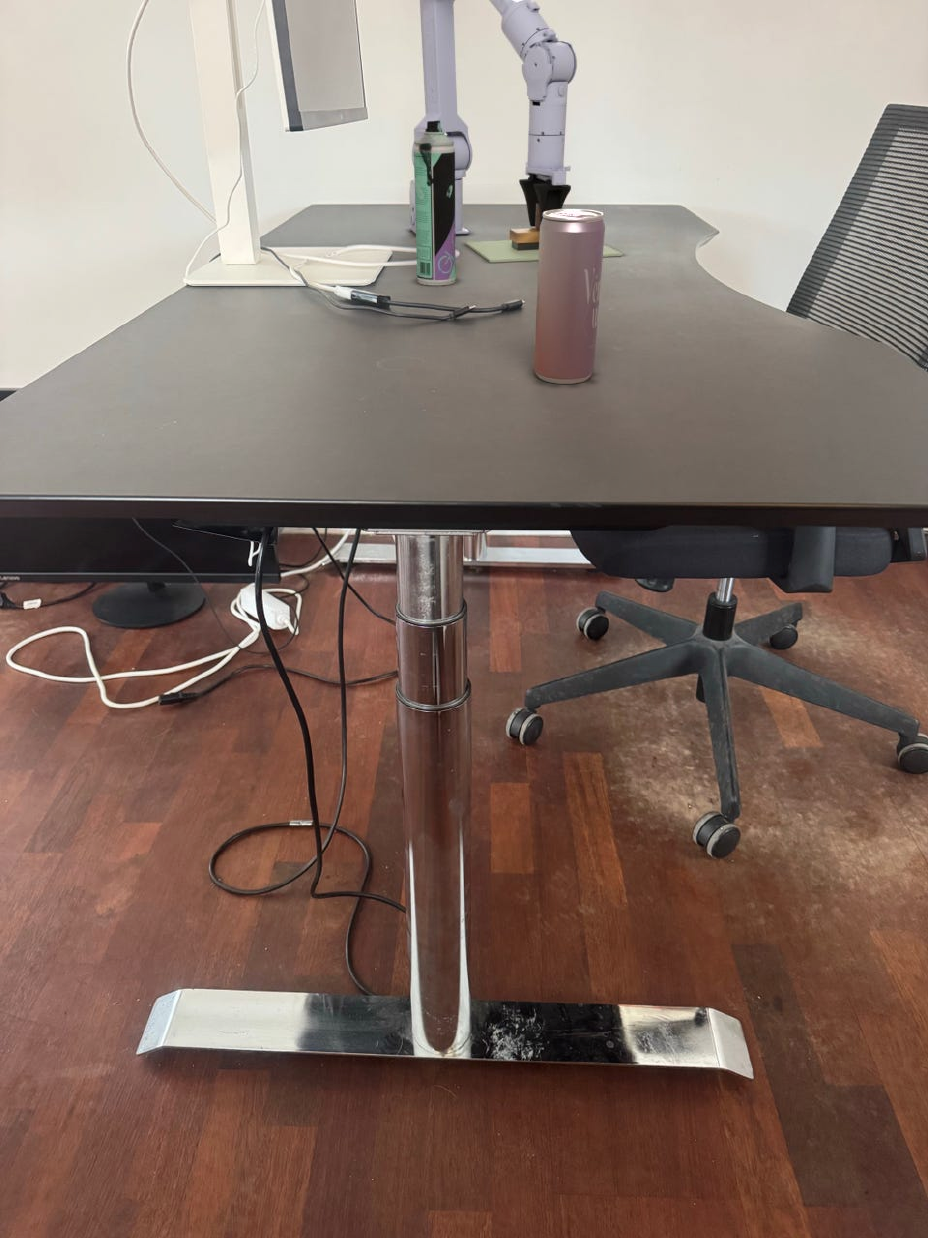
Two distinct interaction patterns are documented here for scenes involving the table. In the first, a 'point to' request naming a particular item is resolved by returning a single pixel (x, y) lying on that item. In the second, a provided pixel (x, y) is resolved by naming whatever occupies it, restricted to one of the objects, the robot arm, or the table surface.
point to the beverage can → (568, 294)
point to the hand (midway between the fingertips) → (542, 229)
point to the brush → (527, 235)
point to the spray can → (435, 206)
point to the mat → (515, 251)
